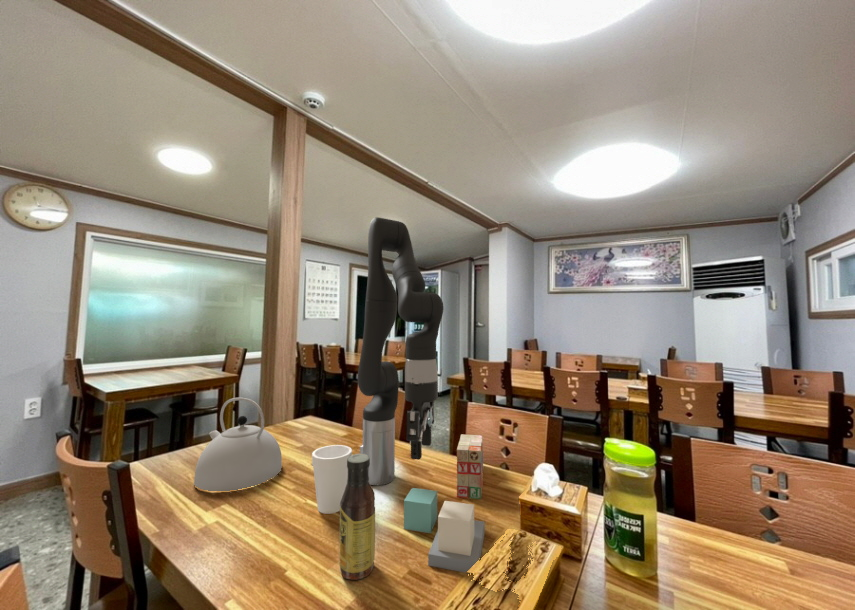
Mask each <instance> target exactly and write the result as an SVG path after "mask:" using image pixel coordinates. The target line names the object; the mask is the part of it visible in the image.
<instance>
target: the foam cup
mask: <svg viewBox="0 0 855 610" xmlns="http://www.w3.org/2000/svg"><path fill="white" fill-rule="evenodd" d="M352 455H353V450H352V448H351V447H350V446H348V445H344V444H343V445H342V444H333V445H332V444H331V445H326V446H322V447H319V448H316V449H315V450H314V451H312V453H311V467H312V468H313V477H314V486H315V495H316V496H315V497H316V506H317V511H318V513H321V514H324V515H325V514H326V515H327V514H330V515H331V514H335V513H338V512H340V502H341V499H342V496H343V494H344V491H345V488H346V485H347V479H348V468H347V458H348V457H350V456H352Z"/></svg>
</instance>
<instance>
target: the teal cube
mask: <svg viewBox="0 0 855 610" xmlns="http://www.w3.org/2000/svg"><path fill="white" fill-rule="evenodd" d="M437 521H438V490H432V489H425V488H418V487H417V488H415V487H412V488H411V489H410V491H409V492H408V494H407V495H406V496H405V498H404V500H403V530H408V531H415V532H421V533H425V534H426V533H427V534H431V533H432V532H433V528H434V526H435V525H436V522H437Z"/></svg>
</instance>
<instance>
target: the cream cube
mask: <svg viewBox="0 0 855 610" xmlns="http://www.w3.org/2000/svg"><path fill="white" fill-rule="evenodd" d="M474 520H475V504H472V503H463V502H458V501H451V500H450V501H448V500H444V502H443V504H442V506H441V508H440V511H439V513H438V515H437V531H438V550H440V551H445V552H451V553H457V554H462V555H468V556H470V555H471V550H472V545H473V541H474Z"/></svg>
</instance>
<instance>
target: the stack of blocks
mask: <svg viewBox="0 0 855 610" xmlns="http://www.w3.org/2000/svg"><path fill="white" fill-rule="evenodd" d="M483 443H484V442H483V435H480V434H460V438H459V441H458V444H457V448H456V473H457V474H456V482H457V483H456V497H457V498H463V499H475V500H476V499H477V500H482V494H483V474H482V473H484V447H483V445H484V444H483Z"/></svg>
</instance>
